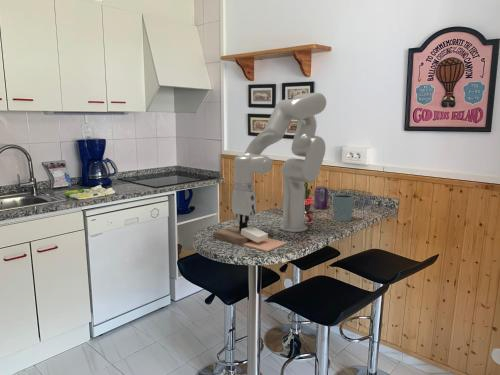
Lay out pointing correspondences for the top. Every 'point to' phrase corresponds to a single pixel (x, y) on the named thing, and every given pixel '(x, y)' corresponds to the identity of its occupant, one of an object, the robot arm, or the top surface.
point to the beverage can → (321, 197)
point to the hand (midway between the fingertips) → (243, 230)
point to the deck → (231, 236)
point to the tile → (254, 234)
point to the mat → (265, 244)
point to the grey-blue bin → (343, 207)
